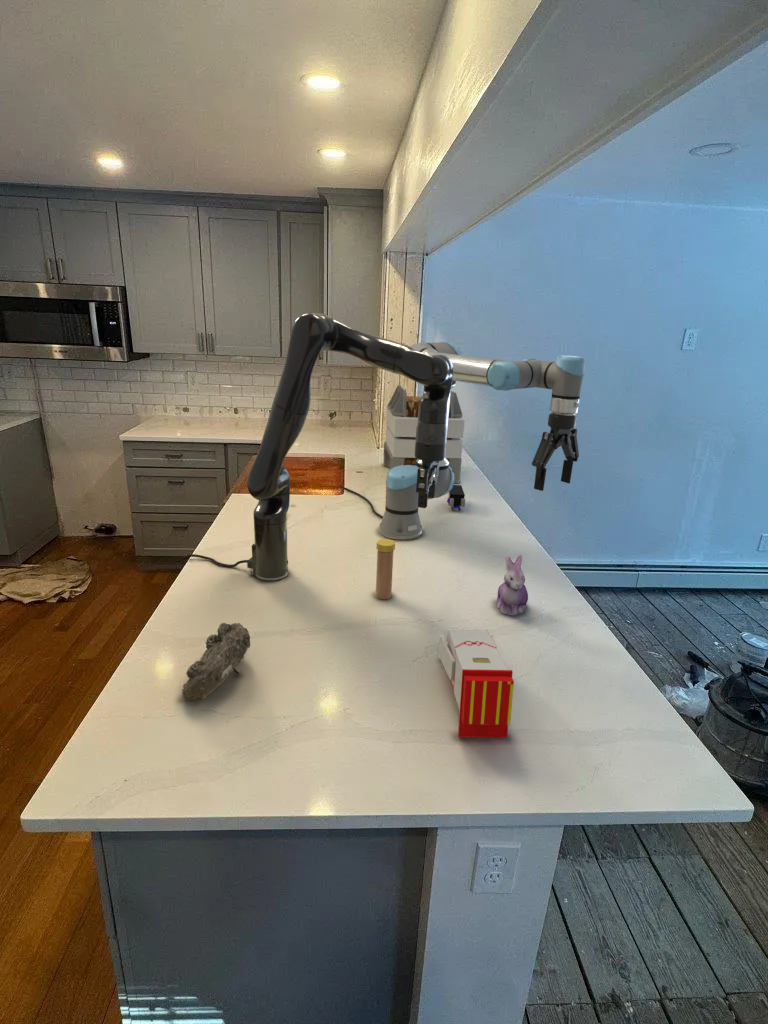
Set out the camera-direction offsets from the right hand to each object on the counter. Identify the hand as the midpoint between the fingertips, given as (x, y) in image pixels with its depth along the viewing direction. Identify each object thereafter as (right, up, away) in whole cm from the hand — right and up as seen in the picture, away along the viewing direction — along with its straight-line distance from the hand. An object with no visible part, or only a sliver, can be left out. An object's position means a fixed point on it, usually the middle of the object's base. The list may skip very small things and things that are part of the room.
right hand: (552, 485), depth 166 cm
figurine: (-15, -34, -13) cm, 39 cm away
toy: (-31, -45, -47) cm, 72 cm away
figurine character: (-20, -6, +65) cm, 68 cm away
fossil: (-84, -42, -45) cm, 104 cm away
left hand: (-38, -5, -22) cm, 44 cm away
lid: (-49, -16, -14) cm, 53 cm away
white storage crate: (-32, +11, +109) cm, 115 cm away
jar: (-49, -31, -9) cm, 59 cm away
